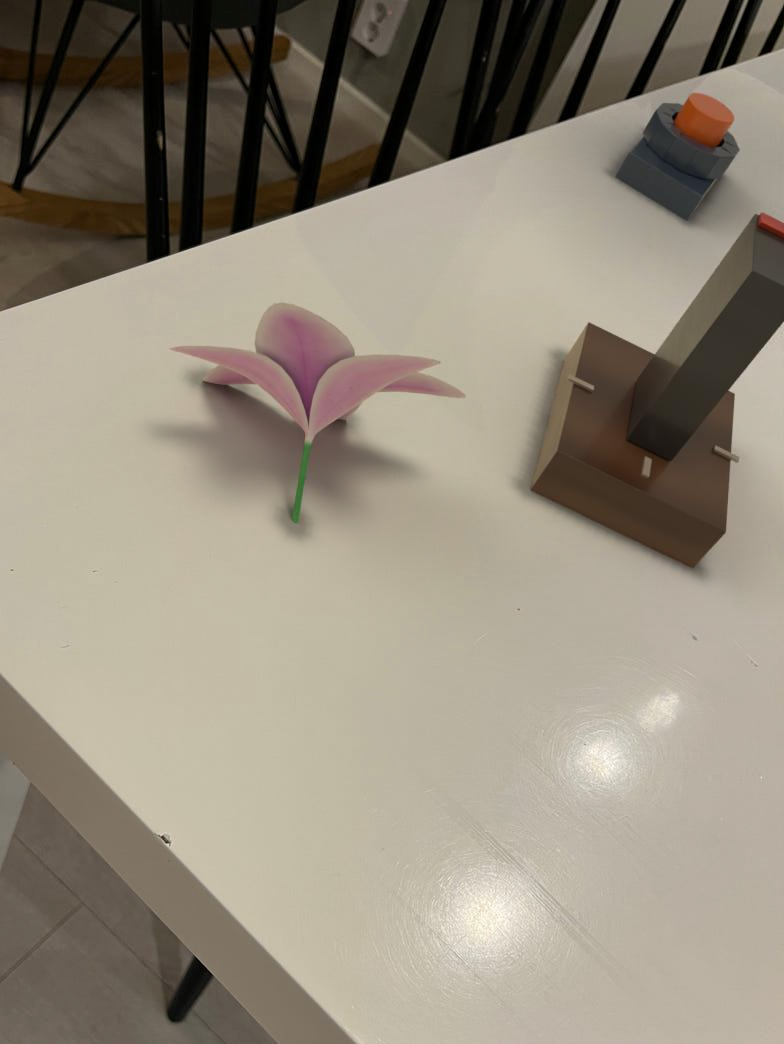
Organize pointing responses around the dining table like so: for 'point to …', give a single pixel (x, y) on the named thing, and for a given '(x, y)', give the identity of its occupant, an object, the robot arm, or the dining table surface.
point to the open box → (712, 341)
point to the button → (704, 119)
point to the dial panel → (632, 455)
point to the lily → (315, 372)
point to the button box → (675, 163)
